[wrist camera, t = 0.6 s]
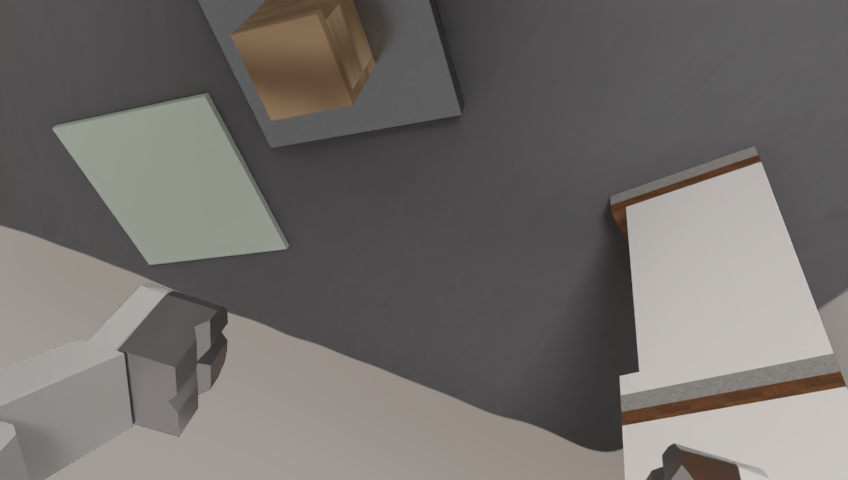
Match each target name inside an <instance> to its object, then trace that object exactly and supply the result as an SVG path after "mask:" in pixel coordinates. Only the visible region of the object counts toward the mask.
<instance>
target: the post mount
mask: <svg viewBox="0 0 848 480" xmlns="http://www.w3.org/2000/svg"><path fill="white" fill-rule="evenodd" d="M265 1H266V0H198V2H199V4H200V6H201V8H202V10H203V12H204V14H205V16H206V18H207V20H208V22H209V24H210V26H211V28H212V30H213V32H214V34H215V36H216V38H217V40H218V42H219V45H220V47H221V49H222V51H223V53H224V55H225V57H226V59H227V61H228V63H229V65H230V67H231V69H232V71H233V73H234V75H235V77H236V79H237V81H238V83H239V85H240V87H241V89H242V91H243V93H244V95H245V97H246V99H247V101H248V103H249V105H250V107H251V109H252V111H253V113H254V115H255V117H256V119H257V121H258V123H259V125H260V127H261V129H262V131H263V133H264V135H265V137H266V139H267V141H268V143H269V145H270V147H271V148H274V147H280V146H286V145H292V144H297V143H303V142H309V141H315V140H320V139H326V138H332V137H338V136H343V135H349V134H355V133H361V132H366V131H372V130H378V129H384V128H389V127H395V126H401V125H407V124H412V123H418V122H424V121H430V120H435V119H441V118H447V117H452V116H458V115H462V112H463V108H464V102H463V98H462V94H461V91H460V87H459V84H458V80H457V77H456V73H455V69H454V66H453V62H452V59H451V55H450V51H449V48H448V44H447V41H446V37H445V33H444V30H443V26H442V23H441V19H440V15H439V12H438V8H437V5H436V1H435V0H353V1H354V4H355V7H356V10H357V13H358V15H359V18H360V21H361V24H362V27H363V30H364V32H365V35H366V38H367V41H368V44H369V47H370V49H371V52H372V55H373V58H374V61H375V64H376V65H375V67H374V69H373V71H372V72H371V74H370V76H369V78H368V80H367V81H366V83H365V85H364V87H363V88H362V90H361V92H360V94H359V96H358V97H357V99H356V101H355V103H354V104H353V105H352V106H347V107H341V108H336V109H331V110H326V111H320V112H315V113H310V114H305V115H299V116H294V117H289V118H283V119H278V120H273V121H271V119H270V117H269V115H268V113H267V111H266V109H265V106H264V104H263V102H262V100H261V98H260V96H259V94H258V92H257V90H256V88H255V86H254V84H253V82H252V79H251V77H250V75H249V73H248V71H247V69H246V67H245V65H244V63H243V61H242V59H241V57H240V55H239V52H238V50H237V48H236V46H235V44H234V42H233V40H232V38H231V36H230V35H231V34H232V33H233V32H234V31H235V30H236V29H237V28H238V27H239V26H240V25H241V24H242V23H243V22H244V21H245V20H247V19H248V18H249V17H250V16H251V15H252V14H253V13H254V12H255V11H256V10H257V9H258V8H259V7H260V6H261V5H262V4H263V3H264V2H265Z"/></svg>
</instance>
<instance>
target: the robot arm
mask: <svg viewBox="0 0 848 480" xmlns="http://www.w3.org/2000/svg"><path fill="white" fill-rule="evenodd" d="M227 322H228V321H227V309H225V308H224V307H222V306H218V305H215V304H212V303H209V302H206V301H203V300H200V299H197V298H194V297H191V296H188V295H185V294H182V293H179V292H176V291H172V290H169V289H166V288H163V287H160V286H157V285H153V284H151V283H146V284H143V285H141V286H140V287H138V288H137V289H136V290H135V292H133V293H132V294H131V295H130V297H129V298H128V299H127V300H126V301H125V302H124V303H123V304H122V305H121V306H120V307H119V308H118V309H117V310H116V311H115V312H114V313H113V314H112V316H110V318H109V319H108V320H107V321H106V322H105V323H104V324H103V325H102V326H101V327H100V328H99V329H98V330H97V331H96V332H95V333H94V335H93V336H92V337H91V338H90V339H89V340H88V341H84V340H80V339H78V340H75V341H73V342H70V343H67V344H65V345H62V346H59V347H57V348H54V349H51V350H48V351H46V352H43V353H40V354H38V355H35V356H32V357H30V358H27V359H24V360H22V361H19V362H16V363H14V364H11V365H8V366H6V367H3V368H0V480H44V479H46V478H47V477H49V476H51V475H53V474H54V473H56V472H58V471H59V470H61V469H63V468H64V467H66V466H68V465H69V464H71V463H73V462H75V461H76V460H78V459H80V458H81V457H83V456H85V455H86V454H88V453H90V452H91V451H93V450H95V449H96V448H98V447H100V446H101V445H103V444H104V443H106V442H108V441H110V440H111V439H113V438H115V437H116V436H118V435H120V434H122V433H123V432H125V431H127V430H128V429H130V428H132V427H133V424H135V425H139V426H142V427H146V428H150V429H153V430H156V431H160V432H163V433H167V434H170V435H174V436H177V437H179V436H180V435H181V433H182V432H183V430H184V429H185V427H186V425H187V424H188V423H189V421H190V420H191V418H192V417H193V415H194V414H195V412H196V411H197V409H198V395H199V394H201V393H204V392H206V391H208V390H210V389H211V388H212V386H213V384H214V383H215V381H216V380H217V378H218V376H219V374H220V372H221V369H222V367H223V364H224V362H225V357H226V352H227V339H226V338H225V336H224V335H223V334H222V330H223V329H224V327H225V326H226V325H227ZM662 461H663V467H660V468H658V469H655V470H652V471H651V472H650V474H649V476H648V477H647V479H646V480H768V476H767V474H766V473H765V472H764V470H763V469H760V468H756V467H753V466H750V465H746V464H743V463H740V462H736V461H731V460H729V459H727V458H723V457H720V456H716V455H713V454H710V453H706V452H703V451H699V450H696V449H692V448H689V447H686V446H682V445H679V444H675V443H674V444H672V445H670V446H668V448H667V449H666V450H665V452H664V453H663V455H662Z"/></svg>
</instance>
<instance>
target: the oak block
mask: <svg viewBox="0 0 848 480" xmlns="http://www.w3.org/2000/svg"><path fill="white" fill-rule="evenodd" d="M230 36H231V38H232V40H233V42H234V44H235V46H236V48H237V50H238V52H239V55H240V57H241V59H242V61H243V63H244V65H245V67H246V69H247V71H248V73H249V75H250V77H251V79H252V82H253V84H254V86H255V88H256V90H257V92H258V94H259V96H260V98H261V100H262V102H263V104H264V106H265V109H266V111H267V113H268V115H269V117H270V119H271V121H273V120H278V119H283V118H289V117H294V116H299V115H305V114H310V113H315V112H320V111H326V110H331V109H336V108H341V107H347V106H352V105H353V104H354V103H355V101H356V99H357V97H358V96H359V94H360V92H361V90H362V88H363V87H364V85H365V83H366V81H367V80H368V78H369V76H370V74H371V72H372V71H373V69H374V67H375V65H376V64H375V61H374V58H373V55H372V52H371V49H370V47H369V44H368V41H367V38H366V35H365V32H364V30H363V27H362V24H361V21H360V18H359V15H358V13H357V10H356V7H355V4H354V1H353V0H266V1H265V2H264V3H263V4H262V5H261V6H260V7H259V8H258V9H257V10H256V11H255V12H254V13H253V14H252V15H251V16H250V17H249V18H248V19H247V20H245V21H244V22H243V23H242V24H241V25H240V26H239V27H238V28H237V29H236V30H235V31H234V32H233V33H232V34H231V35H230Z"/></svg>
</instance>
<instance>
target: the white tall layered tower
mask: <svg viewBox="0 0 848 480" xmlns="http://www.w3.org/2000/svg"><path fill="white" fill-rule="evenodd" d="M610 203H611V213H612V215H613V217H614V219H615V221H616V223H617V224H618V226H619V228H620V230H621V232H622V234H623V236H624V238H625V240H626V241H627V243H628V245H629V251H630V264H631V276H632V288H633V300H634V312H635V325H636V337H637V349H638V361H639V372H636V373H631V374H627V375H622V376H620V395H621V414H622V433H623V452H624V471H625V480H646V479H647V477H648V476H649V474H650V472H651V471H652V470H655V469H658V468H660V467H663V461H662V455H663V453H664V452H665V450H666V449H667V448H668V446H670V445H672V444H674V443H675V444H679V445H682V446H686V447H689V448H692V449H696V450H699V451H703V452H706V453H710V454H713V455H716V456H720V457H723V458H727V459H729V460H731V461H736V462H740V463H743V464H746V465H750V466H753V467H756V468H760V469H763V470H764V472H765V473H766V474H767V476H768V480H848V390H847V387H846V385H845V382H844V380H843V377H842V374H841V372H840V369H839V366H838V364H837V361H836V358H835V356H834V353H833V350H832V348H831V345H830V343H829V340H828V337H827V335H826V332H825V329H824V327H823V324H822V321H821V319H820V316H819V313H818V311H817V308H816V306H815V303H814V300H813V298H812V295H811V292H810V290H809V287H808V284H807V282H806V279H805V276H804V274H803V271H802V269H801V266H800V263H799V261H798V258H797V255H796V253H795V250H794V247H793V245H792V242H791V240H790V237H789V234H788V232H787V229H786V226H785V224H784V221H783V218H782V216H781V213H780V210H779V208H778V205H777V203H776V200H775V197H774V195H773V192H772V189H771V187H770V184H769V181H768V179H767V176H766V174H765V171H764V168H763V166H762V163H761V160H760V158H759V155H758V152H757V150H756V147H755V146H753V147H750V148H748V149H745V150H742V151H739V152H736V153H733V154H730V155H727V156H725V157H722V158H719V159H716V160H713V161H710V162H707V163H704V164H702V165H699V166H696V167H693V168H690V169H687V170H684V171H681V172H679V173H676V174H673V175H670V176H667V177H664V178H661V179H658V180H656V181H653V182H650V183H647V184H644V185H641V186H638V187H635V188H633V189H630V190H627V191H624V192H621V193H618V194H615V195H613V196H610Z"/></svg>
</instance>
